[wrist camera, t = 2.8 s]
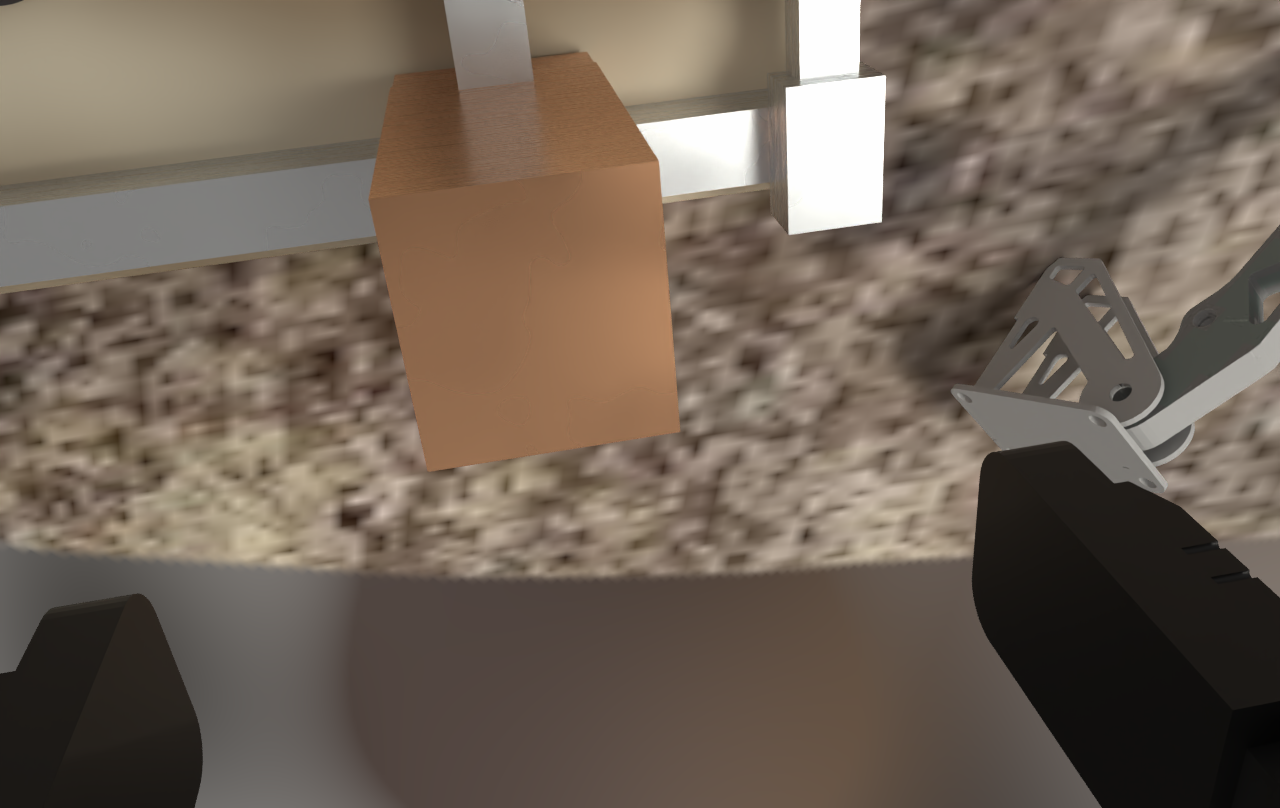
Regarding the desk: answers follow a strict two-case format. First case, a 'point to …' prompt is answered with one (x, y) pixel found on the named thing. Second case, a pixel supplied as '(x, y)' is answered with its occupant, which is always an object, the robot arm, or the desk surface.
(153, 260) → the divider beam
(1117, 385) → the bracket
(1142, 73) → the desk surface
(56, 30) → the bolt plate
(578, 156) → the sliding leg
